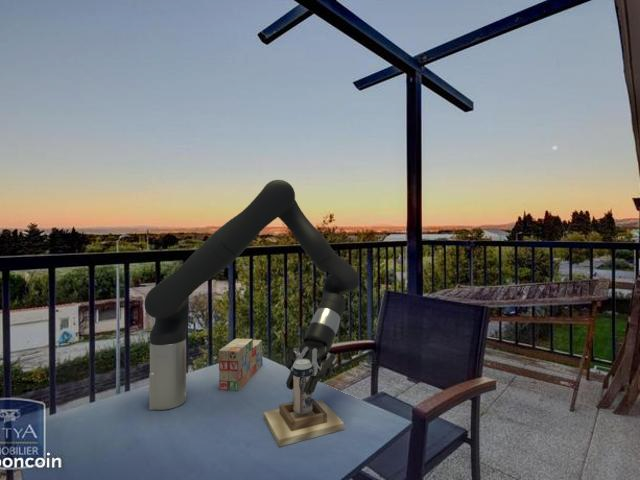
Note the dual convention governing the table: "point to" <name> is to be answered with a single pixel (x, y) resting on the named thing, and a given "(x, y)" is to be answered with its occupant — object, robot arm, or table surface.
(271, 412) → the base board
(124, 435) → the table surface
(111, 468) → the table surface
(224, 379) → the stack of blocks
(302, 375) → the beer can
